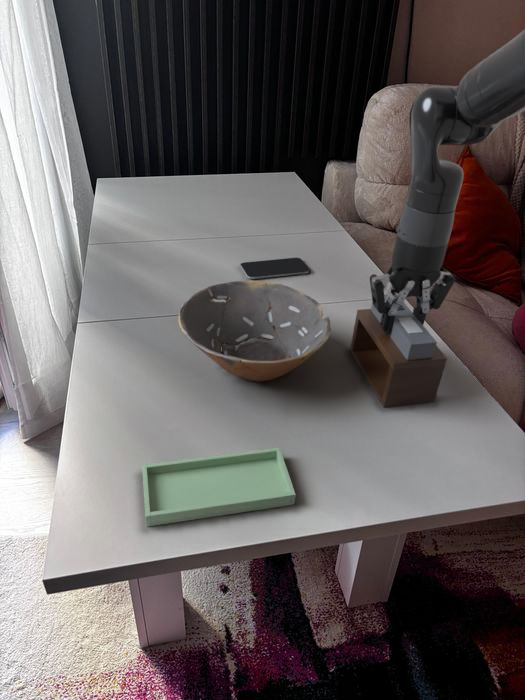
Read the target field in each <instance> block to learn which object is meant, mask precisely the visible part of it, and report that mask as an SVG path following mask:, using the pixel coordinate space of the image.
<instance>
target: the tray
mask: <svg viewBox="0 0 525 700" xmlns="http://www.w3.org/2000/svg"><path fill="white" fill-rule="evenodd" d="M141 468H142V470H141V471H142V482H143V485H142V486H143V498H144V499H143V500H144V501H143V502H144V515H145V525H146V527H153V526H159V525H161V526H162V525H165V524H166V525H167V524H172V523H179V522H181V523H182V522H186V521H187V522H188V521H195V520H200V519H207V518H213V517H214V518H215V517H219V516H227V515H232V514H233V515H234V514H239V513H240V514H241V513H247V512H253V511H260V510H268V509H274V508H280V507H286V506H294V505H295V503H296V496H297V495H296V491H295V488H294V485H293V482H292V480H291V477H290V473H289V471H288V468H287V464H286V461H285V460H284V456H283V453H282V450H281V447H272V448H265V449H258V450H257V449H256V450H250V451H242V452H241V451H240V452H233V453H226V454H224V453H223V454H217V455H210V456H200V457H195V458H186V459H178V460H170V461H161V462H153V463H147V464H141Z"/></svg>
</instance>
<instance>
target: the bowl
mask: <svg viewBox="0 0 525 700" xmlns="http://www.w3.org/2000/svg"><path fill="white" fill-rule="evenodd" d="M215 300H217V301H215ZM323 315H324V312H323V306H322V305H321V304H320V303H319V302H318V301H317V300H316V299H314V298H312V296H311V297H310V296H309V295H308V294H306V293H304V292H303V291H301V290H299V289H296V288H294V287H292V286H291V287H290V286H287V285H284V284H282V283H278V282H272V281H263V280H262V281H261V280H259V281H258V280H238V281H237V280H235V281H229V282H224V283H223V282H222V283H218V284H214V285H211V286H207V287H205V288H203V289H200V290H199V291H197V292H195V293H193V294H192V295H191V296H190V297H189V298H188V299H186V301H185V302H183V304H182V305H181V307H180V309H179V312H178V326H179V328H180V331H181V332H182V334H184V336H185V337H186V338H187V340H189V341H190V342H191V343H192V344H193V345H194V346H195V347H196V348H197V349H198V350H199V351H201V352H203V354H205V355H206V356H207V357H208V358H210V359H211V360H212V361H213V362H214V363H216V364H217V365H218V366H219V367H221V368H222V369H224V370H225V371H227V372H228V373H229V374H232V375H233V376H236V377H239V378H240V379H243V380H246V381H251V382H267V381H272V380H274V379H276V378H279V377H282V376H284V375H286V374H288V373H290V372H291V371H293V370H294V369H296V368H297V367H299V366H300V365H302V363H304V362H306V361H307V360H308V359H310V358H311V357H313V356H314V355H315V354H317V352H318V351H319V350H320V349H321V348H322V347H323V346H324V345H325V344H326V342H327V341H328V339H329V338H330V335H331V331H332V329H331V320H330V317H329V316H328V315H325V316H323ZM251 339H264V340H262V341H254V342H248V341H249V340H251ZM244 342H245V343H244ZM237 346H238V348H237V349H236V347H237Z"/></svg>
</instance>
